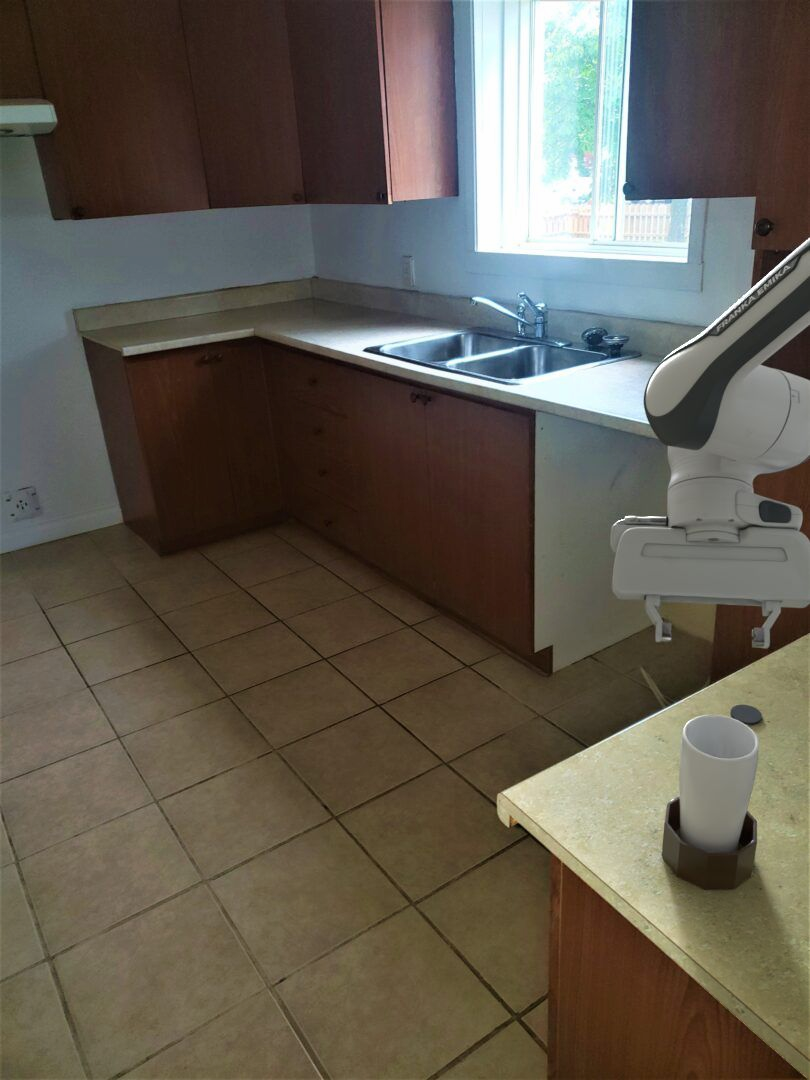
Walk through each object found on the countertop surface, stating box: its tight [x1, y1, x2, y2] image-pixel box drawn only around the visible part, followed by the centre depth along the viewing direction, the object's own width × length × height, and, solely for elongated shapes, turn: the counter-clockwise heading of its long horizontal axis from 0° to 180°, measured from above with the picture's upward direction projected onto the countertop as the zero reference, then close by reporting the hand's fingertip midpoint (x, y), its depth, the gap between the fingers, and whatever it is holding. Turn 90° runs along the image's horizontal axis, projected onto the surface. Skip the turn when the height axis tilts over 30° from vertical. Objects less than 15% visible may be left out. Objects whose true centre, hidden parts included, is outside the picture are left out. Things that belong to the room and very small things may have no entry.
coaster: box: [729, 704, 763, 726], centre depth 100 cm, size 4×4×1 cm
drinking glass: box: [678, 714, 760, 853], centre depth 78 cm, size 7×7×15 cm
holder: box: [661, 794, 758, 891], centre depth 81 cm, size 8×9×4 cm
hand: (711, 644), depth 84 cm, fingers open, 8 cm apart
